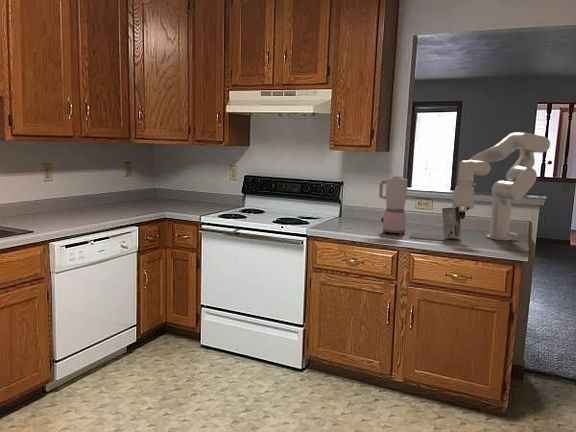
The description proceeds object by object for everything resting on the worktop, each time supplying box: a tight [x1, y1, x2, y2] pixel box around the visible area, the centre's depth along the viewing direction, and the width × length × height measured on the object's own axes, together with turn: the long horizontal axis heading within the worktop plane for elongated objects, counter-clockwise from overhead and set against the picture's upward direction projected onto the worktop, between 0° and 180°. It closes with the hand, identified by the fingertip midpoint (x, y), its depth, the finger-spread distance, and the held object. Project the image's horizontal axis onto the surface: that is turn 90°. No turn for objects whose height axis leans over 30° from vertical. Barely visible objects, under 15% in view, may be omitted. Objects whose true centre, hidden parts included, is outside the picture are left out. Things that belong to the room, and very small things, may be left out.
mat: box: [409, 231, 446, 242], centre depth 267 cm, size 18×15×1 cm
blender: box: [378, 175, 409, 236], centre depth 273 cm, size 16×12×32 cm
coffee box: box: [441, 207, 462, 239], centre depth 263 cm, size 9×6×16 cm
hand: (461, 218), depth 260 cm, fingers closed
